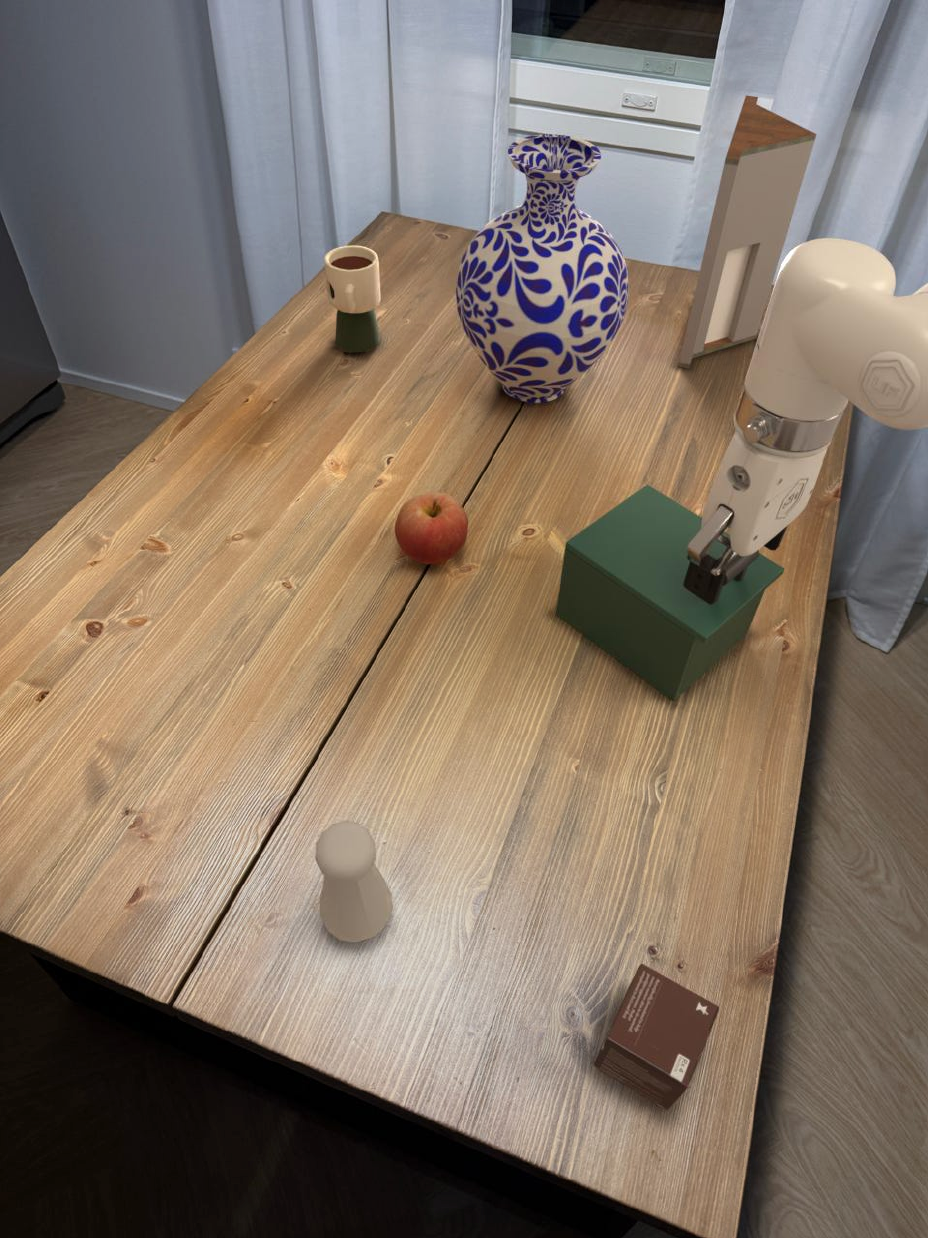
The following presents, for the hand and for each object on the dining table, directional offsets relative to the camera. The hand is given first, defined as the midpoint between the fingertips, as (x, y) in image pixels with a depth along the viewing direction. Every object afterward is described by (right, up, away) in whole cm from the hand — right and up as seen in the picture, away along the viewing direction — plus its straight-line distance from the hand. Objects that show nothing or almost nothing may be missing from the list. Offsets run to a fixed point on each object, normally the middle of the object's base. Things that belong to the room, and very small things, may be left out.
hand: (731, 567), depth 81 cm
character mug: (-39, +34, +47) cm, 70 cm away
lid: (-4, +1, +5) cm, 7 cm away
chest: (-5, -5, +13) cm, 15 cm away
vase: (-15, +27, +41) cm, 52 cm away
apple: (-28, +3, +20) cm, 34 cm away
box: (-11, -37, -14) cm, 41 cm away
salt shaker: (-33, -29, -8) cm, 45 cm away
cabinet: (+14, +37, +50) cm, 64 cm away
